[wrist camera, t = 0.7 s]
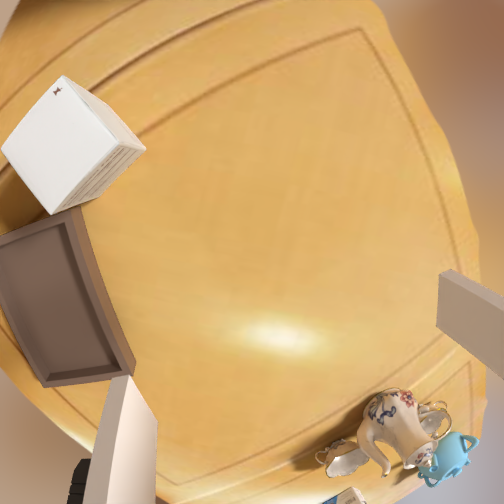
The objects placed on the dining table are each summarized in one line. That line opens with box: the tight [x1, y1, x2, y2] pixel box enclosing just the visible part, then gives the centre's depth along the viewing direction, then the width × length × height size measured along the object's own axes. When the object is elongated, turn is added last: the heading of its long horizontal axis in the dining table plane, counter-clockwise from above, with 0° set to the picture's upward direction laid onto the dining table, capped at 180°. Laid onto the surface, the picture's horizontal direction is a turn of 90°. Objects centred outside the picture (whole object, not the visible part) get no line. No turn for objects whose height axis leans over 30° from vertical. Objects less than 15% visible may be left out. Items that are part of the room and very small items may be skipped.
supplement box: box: [1, 75, 146, 215], centre depth 23 cm, size 7×7×13 cm
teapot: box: [418, 432, 479, 487], centre depth 52 cm, size 15×17×11 cm
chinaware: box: [315, 388, 452, 478], centre depth 40 cm, size 28×17×17 cm, turn 105°
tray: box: [0, 206, 136, 388], centre depth 30 cm, size 20×14×3 cm
